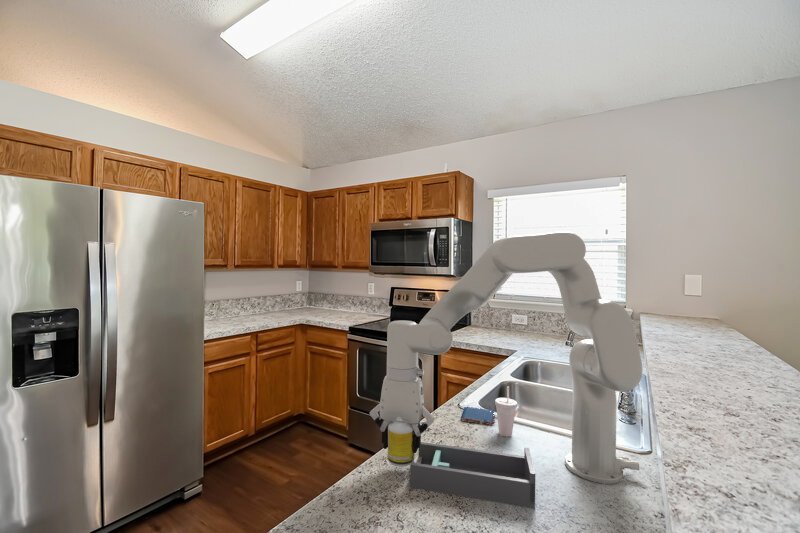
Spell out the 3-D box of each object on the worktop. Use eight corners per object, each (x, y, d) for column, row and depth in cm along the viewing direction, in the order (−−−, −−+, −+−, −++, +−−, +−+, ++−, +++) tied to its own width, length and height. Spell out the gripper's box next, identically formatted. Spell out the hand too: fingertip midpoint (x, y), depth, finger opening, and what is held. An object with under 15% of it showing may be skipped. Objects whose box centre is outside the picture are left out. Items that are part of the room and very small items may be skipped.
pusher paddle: (450, 464, 85) (450, 451, 85) (447, 483, 77) (447, 470, 77) (435, 462, 86) (436, 449, 86) (430, 481, 78) (431, 467, 78)
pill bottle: (412, 469, 80) (412, 418, 80) (384, 466, 81) (385, 415, 82) (416, 455, 87) (417, 407, 87) (390, 452, 88) (391, 405, 88)
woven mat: (494, 428, 110) (494, 421, 110) (460, 423, 113) (460, 416, 113) (495, 415, 120) (495, 409, 120) (464, 411, 123) (464, 405, 123)
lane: (528, 478, 82) (528, 448, 82) (534, 508, 72) (535, 474, 72) (419, 461, 88) (419, 433, 88) (409, 487, 78) (410, 455, 78)
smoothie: (519, 439, 102) (520, 390, 102) (497, 438, 102) (498, 389, 102) (512, 429, 108) (513, 383, 108) (492, 428, 108) (492, 383, 109)
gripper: (440, 371, 86) (439, 445, 86) (372, 366, 90) (371, 436, 90) (436, 380, 79) (434, 461, 78) (362, 374, 83) (361, 451, 82)
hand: (401, 447), depth 84 cm, fingers closed on pill bottle, 6 cm apart
